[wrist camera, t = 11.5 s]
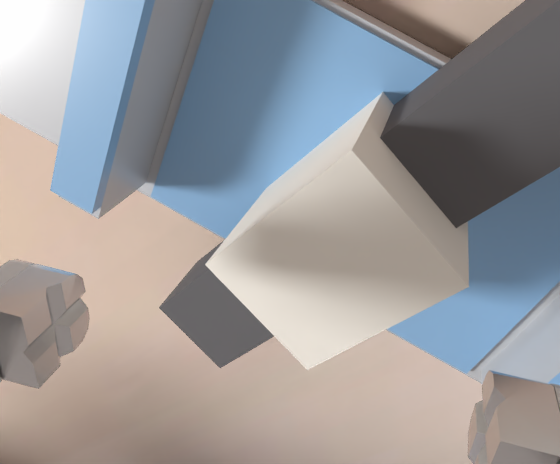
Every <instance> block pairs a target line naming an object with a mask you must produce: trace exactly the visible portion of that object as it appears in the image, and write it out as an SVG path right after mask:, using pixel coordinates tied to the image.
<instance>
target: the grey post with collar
mask: <svg viewBox="0 0 560 464" xmlns="http://www.w3.org/2000/svg"><path fill="white" fill-rule="evenodd" d="M559 167H560V0H525V1H524V2H523V3H521V4H520V5H519V6H518V7H516V8H515V9H514V10H513V11H511V12H510V13H509V14H508V15H506V16H505V17H504V18H503V19H501V20H500V21H499V22H498V23H496V24H495V25H494V26H493V27H491V28H490V29H489V30H488V31H486V32H485V33H484V34H483V35H481V36H480V37H479V38H478V39H476V40H475V41H474V42H473V43H471V44H470V45H469V46H467V47H466V48H465V49H464V50H462V51H461V52H460V53H459V54H457V55H456V56H455V57H454V58H452V59H451V60H450V61H449V62H447V63H446V64H445V65H444V66H442V67H441V68H440V69H439V70H437V71H436V72H435V73H434V74H432V75H431V76H430V77H429V78H427V79H426V80H425V81H424V82H422V83H421V84H420V85H419V86H417V87H416V88H415V89H414V90H412V91H411V92H410V93H409V94H407V95H406V96H405V97H403V98H402V99H401V100H400V101H398V102H397V103H396V104H395V105H393V103H392V102H391V101H390V100H389V99H388V97H387V96H386V95H385V94H384V93H383V92H382V93H381V94H380V95H378V96H377V97H376V98H375V99H374V100H372V101H371V102H370V103H369V104H368V105H366V106H365V107H364V108H363V109H361V110H360V111H359V112H358V113H357V114H355V115H354V116H353V117H352V118H351V119H349V120H348V121H347V122H346V123H345V124H343V125H342V126H341V127H340V128H338V129H337V130H336V131H335V132H334V133H332V134H331V135H330V136H329V137H328V138H326V139H325V140H324V141H323V142H322V143H320V144H319V145H318V146H317V147H315V148H314V149H313V150H312V151H311V152H309V153H308V154H307V155H306V156H305V157H303V158H302V159H301V160H300V161H298V162H297V163H296V164H295V165H294V166H292V167H291V168H290V169H289V170H288V171H286V172H285V173H284V174H283V175H282V176H280V177H279V178H278V179H277V180H275V181H274V182H273V183H272V184H271V185H269V186H268V187H267V188H266V189H265V190H264V192H263V193H262V194H261V195H260V197H259V198H258V199H257V200H256V202H255V203H254V204H253V205H252V207H251V208H250V209H249V210H248V212H247V213H246V214H245V215H244V217H243V218H242V219H241V220H240V222H239V223H238V224H237V225H236V227H235V228H234V229H233V230H232V232H231V233H230V234H229V235H228V236H227V238H226V239H225V240H224V241H223V242H222V243H220V244H219V245H218V246H217V247H215V248H214V249H213V250H211V251H210V252H209V253H208V254H206V255H205V256H204V257H203V258H201V259H200V260H199V261H198V262H197V263H196V264H195V265H194V266H193V268H192V269H191V270H190V271H189V272H188V274H187V275H186V276H185V277H184V278H183V280H182V281H181V282H180V283H179V284H178V286H177V287H176V288H175V289H174V290H173V291H172V293H171V294H170V295H169V296H168V297H167V299H166V300H165V301H164V302H163V303H162V305H161V306H160V307H159V308H160V309H161V310H162V311H163V312H164V313H165V314H166V315H167V316H168V317H169V318H170V319H171V320H172V321H173V322H174V323H175V324H176V325H177V326H178V327H179V328H180V329H181V330H182V331H183V332H184V333H185V334H186V335H187V336H188V337H189V338H190V339H191V340H192V341H193V342H194V343H195V344H196V345H197V346H198V347H199V348H200V349H201V350H202V351H203V352H204V353H205V354H206V355H207V356H208V357H209V358H210V359H211V360H212V361H213V362H214V363H215V364H216V365H217V366H218V367H220V368H221V367H223V366H225V365H226V364H228V363H230V362H231V361H233V360H235V359H236V358H238V357H240V356H242V355H243V354H245V353H247V352H248V351H250V350H252V349H253V348H255V347H257V346H258V345H260V344H262V343H263V342H265V341H267V340H269V339H270V338H272V337H274V336H275V337H276V338H277V339H278V340H279V342H280V343H281V344H282V345H283V346H284V347H285V348H286V349H287V350H288V351H289V352H290V353H291V354H292V355H293V356H294V357H295V358H296V359H297V360H298V361H299V362H300V363H301V364H302V365H303V366H304V367H305V368H306V369H307V370H309V369H311V368H312V367H314V366H316V365H318V364H320V363H322V362H324V361H326V360H328V359H330V358H332V357H334V356H336V355H338V354H340V353H342V352H344V351H345V350H347V349H349V348H351V347H353V346H355V345H357V344H359V343H361V342H363V341H365V340H367V339H369V338H371V337H373V336H375V335H376V334H378V333H380V332H382V331H384V330H386V329H388V328H390V327H392V326H394V325H396V324H398V323H400V322H402V321H404V320H406V319H407V318H409V317H411V316H413V315H415V314H417V313H419V312H421V311H423V310H425V309H427V308H429V307H431V306H433V305H435V304H437V303H439V302H440V301H442V300H444V299H446V298H448V297H450V296H452V295H454V294H456V293H458V292H460V291H462V290H464V289H466V288H468V287H469V256H468V221H469V220H471V219H473V218H474V217H476V216H478V215H479V214H481V213H483V212H484V211H486V210H488V209H490V208H491V207H493V206H495V205H496V204H498V203H500V202H501V201H503V200H505V199H506V198H508V197H510V196H511V195H513V194H515V193H517V192H518V191H520V190H522V189H523V188H525V187H527V186H528V185H530V184H532V183H533V182H535V181H537V180H538V179H540V178H542V177H544V176H545V175H547V174H549V173H550V172H552V171H554V170H555V169H557V168H559Z"/></svg>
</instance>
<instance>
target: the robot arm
mask: <svg viewBox="0 0 560 464" xmlns="http://www.w3.org/2000/svg"><path fill="white" fill-rule="evenodd" d="M84 293H85V287H84V282H83V278H82V277H80V276H79V275H77V274H74V273H70V272H66V271H62V270H59V269H55V268H51V267H47V266H43V265H39V264H34V263H30V262H26V261H22V260H18V259H16V260H9V261H8V262H6V263H5V264H3V265H2V266H0V382H1V381H2V380H1V379H3V380H7V381H11V382H15V383H19V384H22V385H26V386H30V387H34V388H38V389H39V388H40V387H41V386H42V385H43V384H44V383H45V381H46V380H47V379H48V378H49V377H50V376H51V375H52V374H53V373H54V372H55V371H56V370H57V369H58V368H59V367H60V357H61V356H63V355H66V354H68V353H70V352H73V351H74V350H75V349H76V348H77V347H78V346H79V345H80V344H81V342H82V341H83V339H84V337H85V335H86V332H87V330H88V326H89V311H88V308H87V306H86V305H85V304H84V302H83V301H82V300H81V297H82V295H83V294H84ZM482 397H483V400H482V401H480V402H478V403H476V404H475V407H474V410H473V413H472V417H471V421H470V427H469V432H468V457H469V459H470V460H471V461H472V463H473V464H560V385H556V384H552V383H550V384H548V383H544V382H540V381H535V380H531V379H527V378H522V377H518V376H513V375H509V374H504V373H500V372H496V371H491V370H489V371H488V373H487V374H486V376H485V379H484V381H483V384H482Z"/></svg>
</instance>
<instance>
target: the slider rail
mask: <svg viewBox="0 0 560 464" xmlns="http://www.w3.org/2000/svg"><path fill="white" fill-rule="evenodd" d="M450 60H451V59H450V58H448V57H447V56H445V55H443V54H441V53H439V52H437V51H435V50H434V49H432V48H430V47H428V46H426V45H424V44H422V43H421V42H419V41H417V40H415V39H413V38H411V37H409V36H407V35H406V34H404V33H402V32H400V31H398V30H396V29H394V28H393V27H391V26H389V25H387V24H385V23H383V22H381V21H380V20H378V19H376V18H374V17H372V16H370V15H368V14H367V13H365V12H363V11H361V10H359V9H357V8H355V7H353V6H352V5H350V4H348V3H346V2H344V1H342V0H0V113H1V114H2V115H4V116H6V117H8V118H10V119H11V120H13V121H15V122H17V123H18V124H20V125H22V126H24V127H26V128H27V129H29V130H31V131H33V132H34V133H36V134H38V135H40V136H42V137H43V138H45V139H47V140H49V141H50V142H52V143H54V144H56V145H58V151H57V156H56V162H55V167H54V173H53V178H52V184H51V189H50V190H51V191H52V192H54V193H56V194H58V196H59V197H61V198H62V199H64V200H66V201H68V202H69V203H71V204H73V205H75V206H76V207H78V208H80V209H82V210H84V211H85V212H87V213H89V214H91V215H92V216H94V217H96V218H98V219H99V218H100V217H101V216H103V215H104V214H105V213H107V212H108V211H109V210H111V209H112V208H113V207H115V206H116V205H117V204H119V203H120V202H121V201H123V200H124V199H125V198H127V197H128V196H129V195H130V194H132V193H133V192H134V191H136V190H138V191H140V192H141V193H143V194H145V195H147V196H148V197H150V198H152V199H154V200H156V201H157V202H159V203H161V204H163V205H164V206H166V207H168V208H170V209H172V210H173V211H175V212H177V213H179V214H180V215H182V216H184V217H186V218H188V219H189V220H191V221H193V222H195V223H197V224H198V225H200V226H202V227H204V228H205V229H207V230H209V231H211V232H213V233H214V234H216V235H218V236H220V237H221V238H223V239H226V238H227V236H228V235H229V234H230V233H231V232H232V230H233V229H234V228H235V227H236V225H237V224H238V223H239V222H240V220H241V219H242V218H243V217H244V215H245V214H246V213H247V212H248V210H249V209H250V208H251V207H252V205H253V204H254V203H255V202H256V200H257V199H258V198H259V197H260V195H261V194H262V193H263V192H264V190H265V189H266V188H267V187H268V186H269V185H271V184H272V183H273V182H274V181H275V180H277V179H278V178H279V177H280V176H282V175H283V174H284V173H285V172H286V171H288V170H289V169H290V168H291V167H292V166H294V165H295V164H296V163H297V162H298V161H300V160H301V159H302V158H303V157H305V156H306V155H307V154H308V153H309V152H311V151H312V150H313V149H314V148H315V147H317V146H318V145H319V144H320V143H322V142H323V141H324V140H325V139H326V138H328V137H329V136H330V135H331V134H332V133H334V132H335V131H336V130H337V129H338V128H340V127H341V126H342V125H343V124H345V123H346V122H347V121H348V120H349V119H351V118H352V117H353V116H354V115H355V114H357V113H358V112H359V111H360V110H361V109H363V108H364V107H365V106H366V105H368V104H369V103H370V102H371V101H372V100H374V99H375V98H376V97H377V96H378V95H380V94H381V93H382V92H383V93H384V94H385V95H386V96H387V97H388V99H389V100H390V101H391V102H392V103H393V105H395V104H396V103H397V102H398V101H400V100H401V99H402V98H403V97H405V96H406V95H407V94H409V93H410V92H411V91H412V90H414V89H415V88H416V87H417V86H419V85H420V84H421V83H422V82H424V81H425V80H426V79H427V78H429V77H430V76H431V75H432V74H434V73H435V72H436V71H437V70H439V69H440V68H441V67H442V66H444V65H445V64H446V63H447V62H449V61H450ZM468 256H469V287H468V288H466V289H464V290H462V291H460V292H458V293H456V294H454V295H452V296H450V297H448V298H446V299H444V300H442V301H440V302H439V303H437V304H435V305H433V306H431V307H429V308H427V309H425V310H423V311H421V312H419V313H417V314H415V315H413V316H411V317H409V318H407V319H406V320H404V321H402V322H400V323H398V324H396V325H394V326H392V327H390V328H388V329H386V330H387V331H389V332H391V333H392V334H394V335H396V336H398V337H400V338H401V339H403V340H405V341H407V342H408V343H410V344H412V345H414V346H416V347H417V348H419V349H421V350H423V351H424V352H426V353H428V354H430V355H432V356H433V357H435V358H437V359H439V360H440V361H442V362H444V363H446V364H448V365H449V366H451V367H453V368H455V369H456V370H458V371H460V372H462V373H464V374H465V375H467V376H469V377H471V378H473V379H474V380H476V381H478V382H480V383H481V384H483V381H484V379H485V376H486V374H487V373H488V371H489V370H491V371H496V372H500V373H504V374H509V375H513V376H518V377H522V378H527V379H531V380H535V381H540V382H544V383H548V384H550V383H552V384H556V385H560V167H559V168H557V169H555V170H554V171H552V172H550V173H549V174H547V175H545V176H544V177H542V178H540V179H538V180H537V181H535V182H533V183H532V184H530V185H528V186H527V187H525V188H523V189H522V190H520V191H518V192H517V193H515V194H513V195H511V196H510V197H508V198H506V199H505V200H503V201H501V202H500V203H498V204H496V205H495V206H493V207H491V208H490V209H488V210H486V211H484V212H483V213H481V214H479V215H478V216H476V217H474V218H473V219H471V220H469V221H468ZM482 399H483V397H482Z"/></svg>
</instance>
